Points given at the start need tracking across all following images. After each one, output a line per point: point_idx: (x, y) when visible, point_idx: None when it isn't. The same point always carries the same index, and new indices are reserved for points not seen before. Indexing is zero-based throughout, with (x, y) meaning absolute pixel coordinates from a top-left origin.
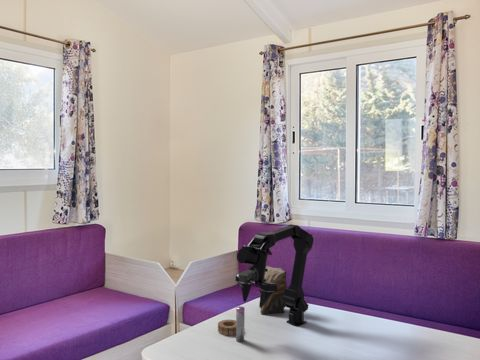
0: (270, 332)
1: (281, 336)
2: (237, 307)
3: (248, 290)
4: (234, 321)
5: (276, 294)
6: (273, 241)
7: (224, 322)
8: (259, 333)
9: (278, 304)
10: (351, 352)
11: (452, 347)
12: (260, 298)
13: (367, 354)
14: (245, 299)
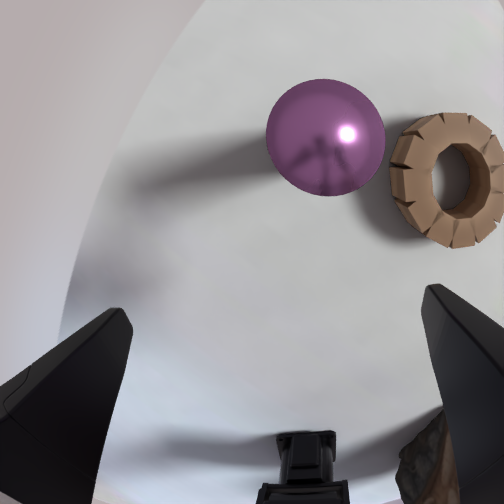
0: (299, 337)
1: (233, 345)
2: (362, 111)
3: (466, 457)
4: (467, 230)
5: (427, 497)
6: None
7: (489, 175)
8: (323, 289)
9: (414, 469)
10: None
11: None
12: (40, 375)
13: None
14: (431, 321)
